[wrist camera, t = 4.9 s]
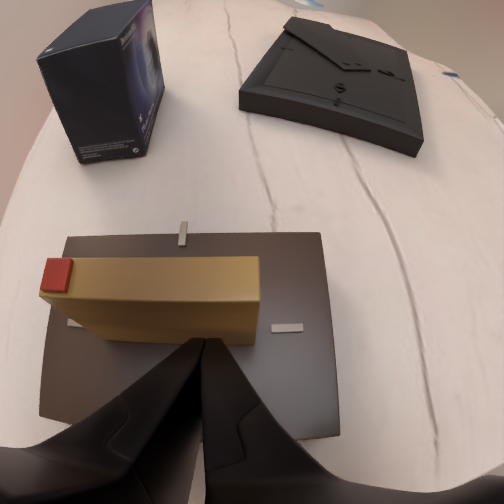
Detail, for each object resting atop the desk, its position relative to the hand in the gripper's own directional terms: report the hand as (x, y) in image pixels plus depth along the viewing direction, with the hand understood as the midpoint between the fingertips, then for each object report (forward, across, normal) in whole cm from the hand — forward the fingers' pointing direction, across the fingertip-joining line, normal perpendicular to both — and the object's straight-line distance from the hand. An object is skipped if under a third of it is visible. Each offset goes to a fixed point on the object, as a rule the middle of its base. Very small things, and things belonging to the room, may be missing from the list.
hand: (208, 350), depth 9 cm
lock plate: (+7, +2, +4) cm, 8 cm away
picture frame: (+26, -12, -14) cm, 32 cm away
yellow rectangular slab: (+5, +2, +2) cm, 5 cm away
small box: (+20, +10, -9) cm, 24 cm away
